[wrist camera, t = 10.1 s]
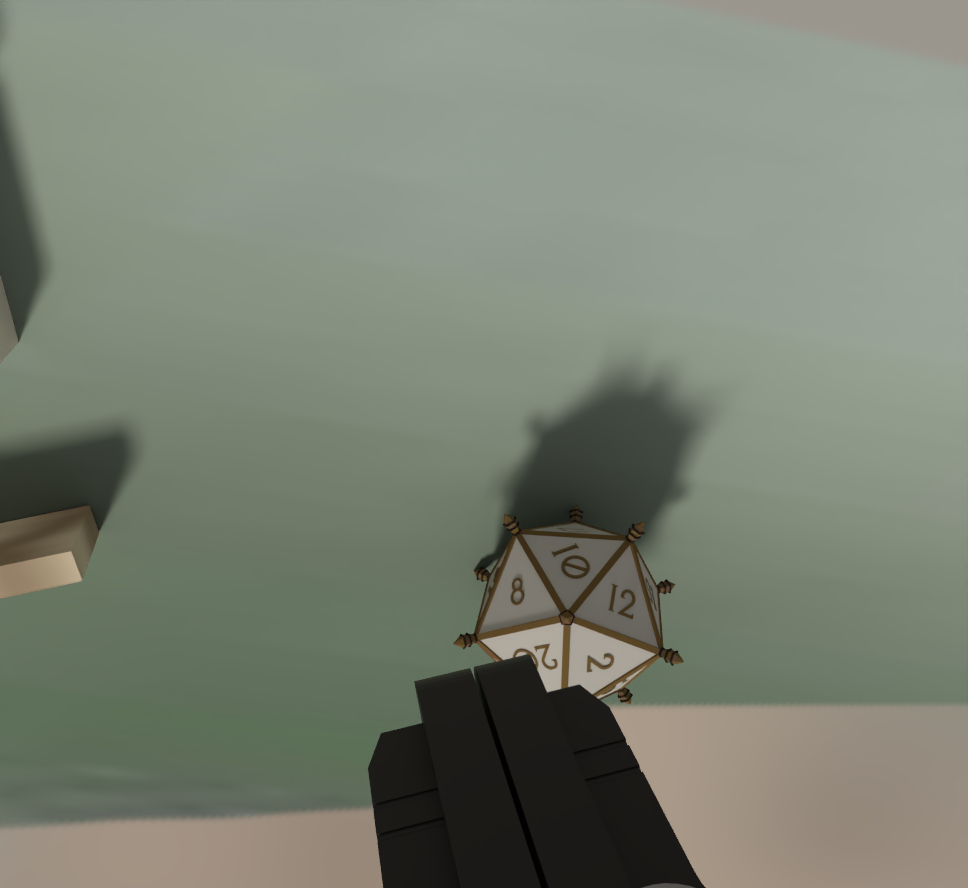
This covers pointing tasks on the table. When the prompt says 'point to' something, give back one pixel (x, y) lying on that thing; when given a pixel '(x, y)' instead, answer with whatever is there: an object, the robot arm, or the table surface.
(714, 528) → the table surface
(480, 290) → the table surface
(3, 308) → the cream tile
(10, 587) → the box
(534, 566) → the game die
